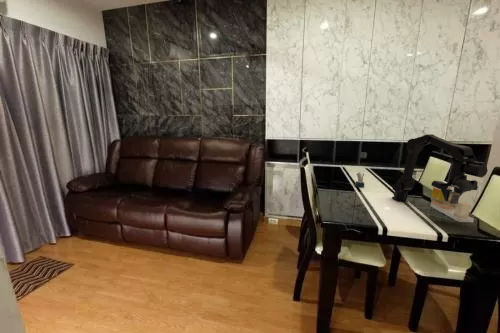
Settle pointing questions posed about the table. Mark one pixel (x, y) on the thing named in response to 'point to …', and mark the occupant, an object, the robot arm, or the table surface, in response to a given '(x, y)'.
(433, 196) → the supplement bottle
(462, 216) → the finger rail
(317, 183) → the table surface
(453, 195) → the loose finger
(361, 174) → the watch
